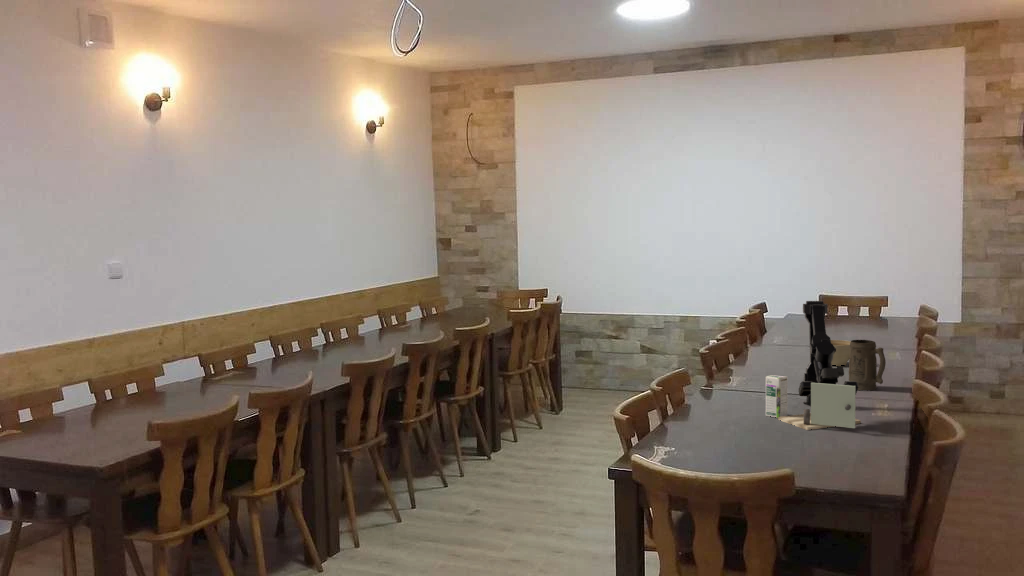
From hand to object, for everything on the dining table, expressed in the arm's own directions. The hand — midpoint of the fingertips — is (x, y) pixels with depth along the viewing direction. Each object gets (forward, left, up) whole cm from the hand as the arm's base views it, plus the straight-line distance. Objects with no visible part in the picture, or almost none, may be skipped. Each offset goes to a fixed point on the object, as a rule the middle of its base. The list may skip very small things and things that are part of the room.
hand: (832, 409), depth 280 cm
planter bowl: (-96, +81, -7) cm, 126 cm away
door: (+1, -1, -5) cm, 5 cm away
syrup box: (-23, -5, -7) cm, 25 cm away
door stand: (-10, +3, -7) cm, 12 cm away
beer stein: (-46, +56, -7) cm, 73 cm away
